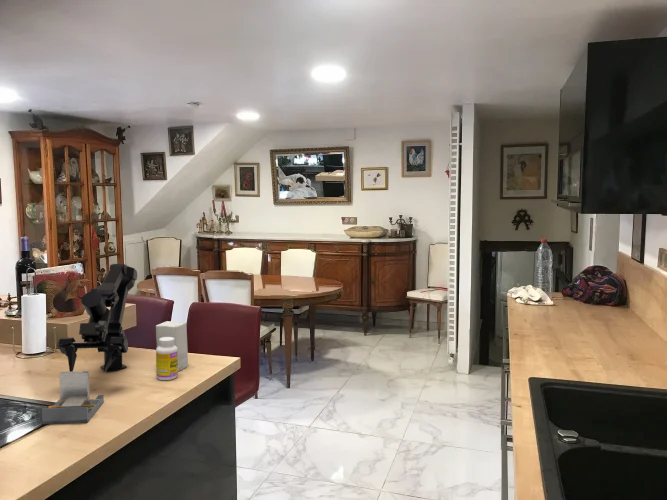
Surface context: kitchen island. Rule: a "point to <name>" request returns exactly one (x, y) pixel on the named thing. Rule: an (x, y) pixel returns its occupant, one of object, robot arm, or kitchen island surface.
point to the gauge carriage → (74, 389)
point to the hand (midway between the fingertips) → (87, 371)
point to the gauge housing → (71, 413)
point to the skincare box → (175, 339)
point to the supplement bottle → (166, 359)
